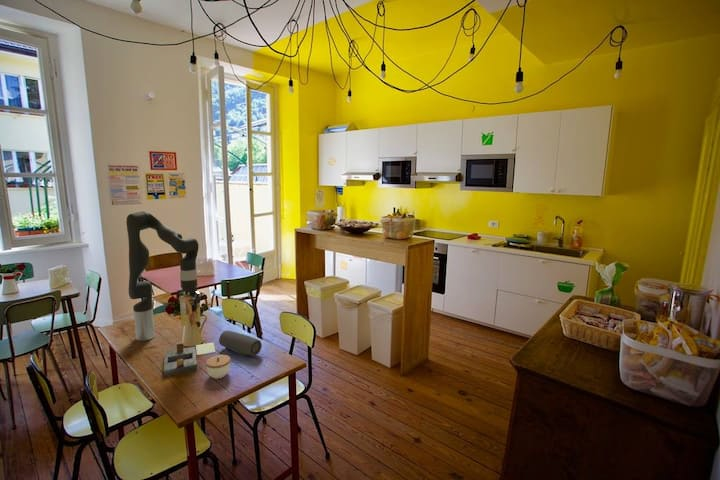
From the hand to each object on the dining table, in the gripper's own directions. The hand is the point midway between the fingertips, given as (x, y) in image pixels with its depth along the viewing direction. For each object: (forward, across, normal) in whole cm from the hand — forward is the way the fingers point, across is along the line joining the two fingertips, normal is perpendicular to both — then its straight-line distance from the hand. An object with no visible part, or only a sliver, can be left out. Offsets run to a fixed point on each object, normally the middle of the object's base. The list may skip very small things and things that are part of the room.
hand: (190, 310), depth 178 cm
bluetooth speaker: (+25, +20, +13) cm, 35 cm away
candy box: (+7, 0, 0) cm, 7 cm away
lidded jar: (+25, +25, -10) cm, 37 cm away
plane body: (+25, 0, -8) cm, 26 cm away
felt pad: (+25, 0, +8) cm, 26 cm away
